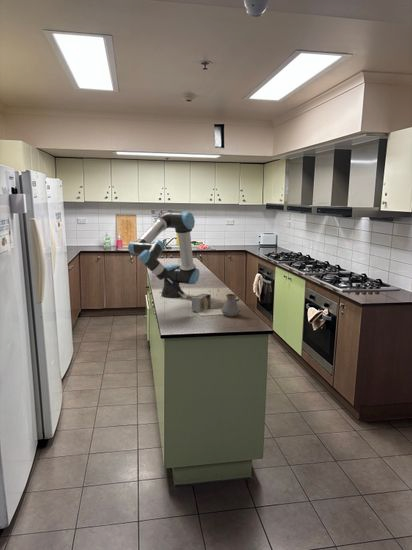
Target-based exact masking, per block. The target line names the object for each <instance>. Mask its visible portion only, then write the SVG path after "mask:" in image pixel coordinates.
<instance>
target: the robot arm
mask: <svg viewBox="0 0 412 550" xmlns="http://www.w3.org/2000/svg"><path fill="white" fill-rule="evenodd" d="M195 221H196V220H195V217H194V214H193V213H192V212H190V211H182V210H181V211H180V210H175V211H174V210H169V211H165V212H163V213H162V214H160V215H158V216H157V217H156V218H155V219H154V221H153V224H152V225H150V226H149V227H148V229H146V231H145V232H144V233H143V234H142V235H140V237H139V238H138V239H137V240H136V241H130V242H129V243H128V245H127V249H128V253H130V254H133V255H138V259H139V261H140V262H141V263H142V265H144V266H145V267H146V268H147V269H148V270H149V271H150V272H151V274H153V275H154V276H155V277H156V278H157V279H158V280H160V281H161V280H163V287H162V290H161V297H162V298H166V299H175V298H176V299H177V298H181V297H182V298H183V299H184V300H185V299H186V298H187V297H188V295H187V294H186V292H185V291H184V290H183V289H182V288H181V286H180V284H184V285H196V284H197V282H198V281H199V278H200V269H198V268H197V266H196V264H195V263H194V257H193V248H192V246H193V245H192V238H191V237H192V236H191V232H192V231H193V229H194V228H195V223H196V222H195ZM167 229H174V230H175V233H176V234H177V238H178V245H179V255H180V263H181V265H180V264H169V265H166V266H165V265H164V264H162V263H161V262H160V261H159V257H160V256H161V254H162V253H163V250H164V249H165V243H164V242H163V241H162V240H160V239H156V238H157V237H158V236H159V235H160V234H162V232H164V231H165V230H167Z"/></svg>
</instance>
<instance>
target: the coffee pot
mask: <svg viewBox="0 0 412 550" xmlns="http://www.w3.org/2000/svg"><path fill="white" fill-rule="evenodd" d="M225 296H226V300H225V302H224V304H223V306H222V308H221V309H222V313H223V314H224V315H223V316H226V317H230V318H231V317H232V318H233V317H236V316H238V315H239V313H240V312H241V311H240V308H239V305H238V303H241V299H240V298H237V297H238V295H237V294H235V293H227V294H226V295H225ZM236 298H237V299H236Z"/></svg>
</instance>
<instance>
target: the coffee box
mask: <svg viewBox="0 0 412 550" xmlns="http://www.w3.org/2000/svg"><path fill="white" fill-rule="evenodd" d="M211 297H212V296H211V294H210V293H209V294H208V293H201V294H198V295H196V296H192V297H191V312H196V313H197V312H201V311H203V310H209V309H211Z"/></svg>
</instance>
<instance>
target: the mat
mask: <svg viewBox="0 0 412 550" xmlns="http://www.w3.org/2000/svg"><path fill="white" fill-rule="evenodd" d="M196 313H197V314H198V315H199V316H201V317H207V316H225V315H224V314H223V313H222V308H213V309H211V308H209V309H206V310H203V311H201V312H196Z"/></svg>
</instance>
